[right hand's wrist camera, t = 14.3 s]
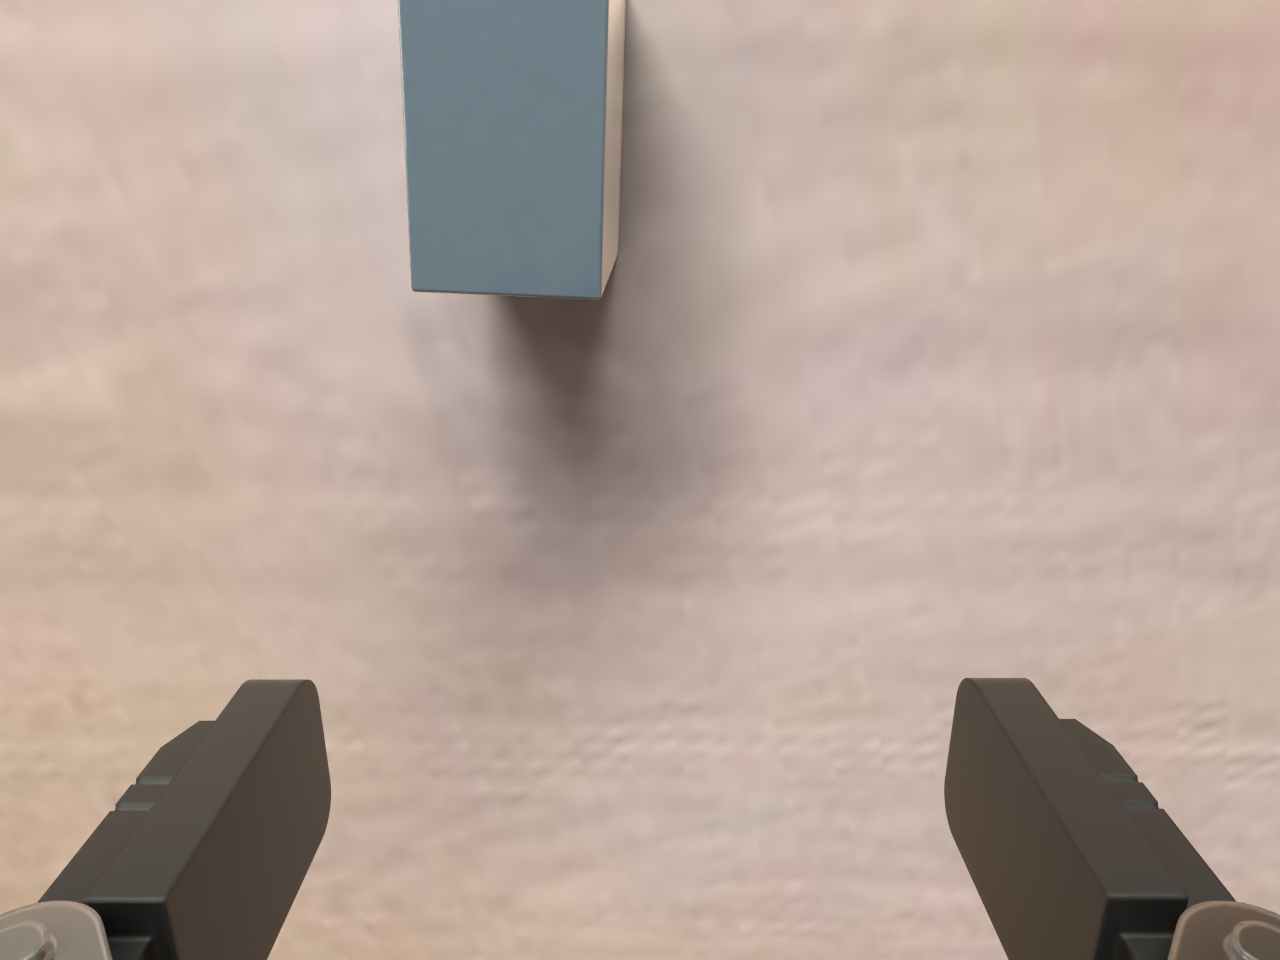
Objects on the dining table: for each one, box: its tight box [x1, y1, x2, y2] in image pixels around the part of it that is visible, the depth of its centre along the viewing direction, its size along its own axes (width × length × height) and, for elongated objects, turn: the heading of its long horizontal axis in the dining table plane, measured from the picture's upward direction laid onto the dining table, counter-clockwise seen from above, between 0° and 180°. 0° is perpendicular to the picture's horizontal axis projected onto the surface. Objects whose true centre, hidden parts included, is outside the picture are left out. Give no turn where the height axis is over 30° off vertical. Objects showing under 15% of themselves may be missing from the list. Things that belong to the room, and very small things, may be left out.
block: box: [398, 0, 626, 300], centre depth 24 cm, size 4×8×8 cm, turn 178°
